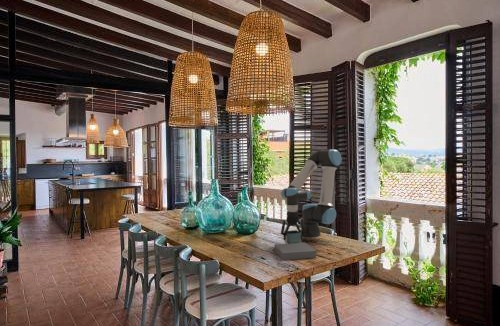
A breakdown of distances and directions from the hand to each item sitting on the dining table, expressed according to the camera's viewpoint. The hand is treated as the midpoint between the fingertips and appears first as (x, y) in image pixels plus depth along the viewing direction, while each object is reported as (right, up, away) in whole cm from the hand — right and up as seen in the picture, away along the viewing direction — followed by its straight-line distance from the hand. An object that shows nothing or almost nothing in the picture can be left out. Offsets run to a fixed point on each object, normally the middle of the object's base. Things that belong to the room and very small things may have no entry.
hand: (292, 244), depth 227 cm
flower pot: (0, -1, 0) cm, 1 cm away
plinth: (-2, -1, -20) cm, 21 cm away
